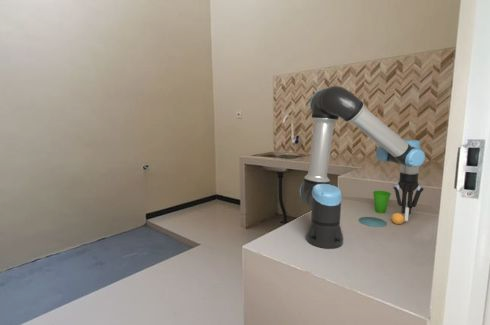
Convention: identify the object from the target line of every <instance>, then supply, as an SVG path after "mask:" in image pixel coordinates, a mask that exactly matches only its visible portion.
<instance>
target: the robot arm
mask: <svg viewBox="0 0 490 325" xmlns="http://www.w3.org/2000/svg"><path fill="white" fill-rule="evenodd" d="M309 107H310V110H311V120H312V121H313V131H312V139H311V148H310V154H309V155H310V156H309V162H308V171H307V174H305V176H304V177H303V182H302V183H301V185H300V187H299V195H300V198H301V200H302V201H303V202H304V203H305V204H306V205H307V206H308V207H309V208H311V218H310V219H311V221H310V224H309V226H308V228H307V232H306V237H305V238H306V242H308V243H309V244H310V245H312V246H315V247H317V248H321V249H322V248H323V249H338V248H340V247H342V246H343V245H344V234H343V231H342V228H341V225H340V224H341V211H342V210H341V209H342V200H343V199H342V191H341V189H340V188H339V187H338V186H336V185H333V184H332V185H331V184H330V181H331V180H330V179H329V177H328V170H329V164H330V156H331V150H332V141H333V134H334V127H335V124H336V123H337V122H338V121H339V118H340V119H341V120H343V121H345V122H346V123H347V122H349V123H351V124H353V125H354V126H355V128H358V129H359V130H360V131H361V132H362V133H364V134H365V135H366V136H367V137H368V138H370V139H371V140H372V141H374V142H375V143H376V144H377V145H378V147H376V151H375V157H376V159H377V161H379V162H383V163H386V162H390V163H394V164H397V165H398V164H399V165H400V168H399V169H400V172H399V178H398V180H399V181H398V183H397V184H396V185H393V186H392V188H393V190H394V192H395V193H394V194H395V197H396V202H397V205H398V206H399V207H401V214H402V215H403V216H404V222H409V215H411V213H412V208H415V207H416V206H417V204H418V201H419V199H420V197H421V194H422V192H423V191H424V190H425V188H424V187H422V186H420V185H419V182H418V181H419V168H420V166H422V165H423V164H424V162H425V160H426V154H425V152H424V151H423V150H421V149H422V148H421V141H420V140H418V139H403V138H402V137H400V136H399V135H398V134H397V133H396V132H395V131H394V130H392V129H391V128H390V127H389V126H387V125H386V124H385V123H384V122H382V120H381V119H379V118H378V117H377V116H376V115H375V114H373V113H372V112H371V111H369V110H368V109H367V108H366V107H365V104H364V102H363V101H362V100H361V99H360V98H358V97H357V96H356V95H355V94H353V93H352V92H351V91H349V90H348V89H346V88H344V87H342V86H338V85H333V86H330V87H326V88H322V89H319V90H317V91H316V92H315V93H314V94H313V95H312V97H311V98H310V102H309ZM400 189H401V190H402V191H401V194H402V195H400V191H399V190H400ZM415 190H416V191H415ZM414 191H415V194H414ZM413 195H414V196H413ZM406 205H407V206H406Z"/></svg>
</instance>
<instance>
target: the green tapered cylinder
mask: <svg viewBox="0 0 490 325" xmlns="http://www.w3.org/2000/svg"><path fill="white" fill-rule="evenodd" d="M372 193H373V202H374V210H375V213H377V214H386V213H387V212H386V211H387V208H388V204H389V200H390V197H391V195H392V193H391V192H389V191H385V190H373V191H372Z"/></svg>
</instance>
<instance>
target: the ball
mask: <svg viewBox="0 0 490 325" xmlns="http://www.w3.org/2000/svg"><path fill="white" fill-rule="evenodd" d="M391 221H392V222H393V224H395V225H401V224H403V223H404V222H405V221H404V216H403V213H400V212H396V213H395V212H394V213H393V214H392V215H391Z"/></svg>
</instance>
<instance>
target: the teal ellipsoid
mask: <svg viewBox="0 0 490 325" xmlns="http://www.w3.org/2000/svg"><path fill="white" fill-rule="evenodd" d="M358 222H359V223H360V224H362V225H365V226H368V227H375V228H382V227H386V226H387V225H388V223H387V221H385V220H384V219H381V218H378V217H374V216H373V217H372V216H362V217H360V218H358Z"/></svg>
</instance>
